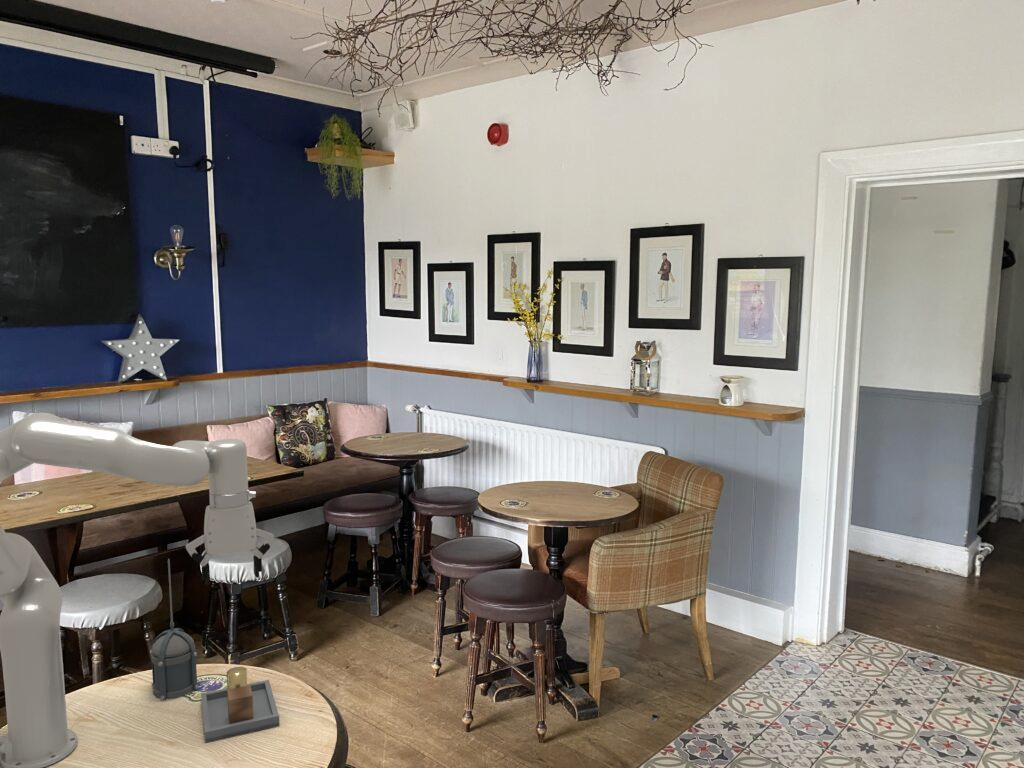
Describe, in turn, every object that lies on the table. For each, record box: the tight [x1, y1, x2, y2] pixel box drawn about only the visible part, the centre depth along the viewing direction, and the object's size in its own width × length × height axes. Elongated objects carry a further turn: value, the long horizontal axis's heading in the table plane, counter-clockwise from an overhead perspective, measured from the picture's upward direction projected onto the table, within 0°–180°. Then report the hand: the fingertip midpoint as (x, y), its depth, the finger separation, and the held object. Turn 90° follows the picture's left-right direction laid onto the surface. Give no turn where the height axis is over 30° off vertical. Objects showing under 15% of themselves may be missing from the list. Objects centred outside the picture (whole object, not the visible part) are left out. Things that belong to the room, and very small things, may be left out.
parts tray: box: [200, 679, 280, 744], centre depth 157 cm, size 14×16×2 cm
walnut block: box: [227, 685, 253, 724], centre depth 154 cm, size 4×4×6 cm
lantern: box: [149, 558, 200, 701], centre depth 166 cm, size 11×11×30 cm
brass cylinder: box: [226, 666, 248, 697], centre depth 160 cm, size 4×4×7 cm
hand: (232, 578), depth 157 cm, fingers open, 9 cm apart
